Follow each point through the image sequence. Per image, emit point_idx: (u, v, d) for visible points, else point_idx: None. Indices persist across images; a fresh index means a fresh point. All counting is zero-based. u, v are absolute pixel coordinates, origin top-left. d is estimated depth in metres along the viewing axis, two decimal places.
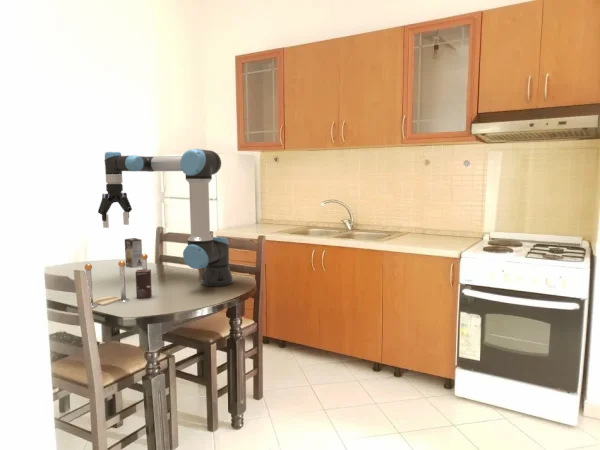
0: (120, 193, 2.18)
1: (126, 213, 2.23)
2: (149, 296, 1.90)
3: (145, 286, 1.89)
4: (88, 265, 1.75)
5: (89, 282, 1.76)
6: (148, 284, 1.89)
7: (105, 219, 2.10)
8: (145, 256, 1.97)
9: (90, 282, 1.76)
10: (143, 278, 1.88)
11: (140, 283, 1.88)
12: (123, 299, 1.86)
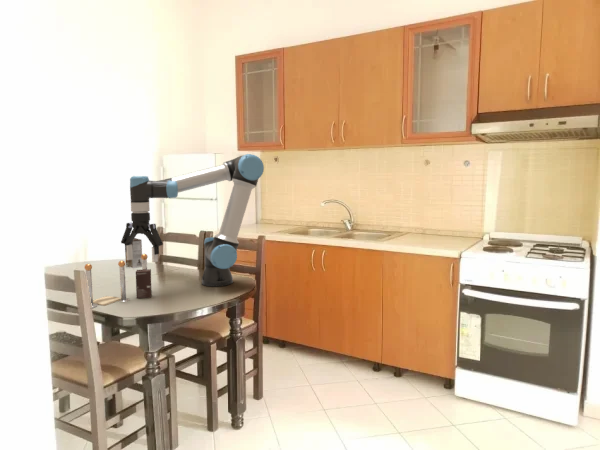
0: (144, 224, 1.86)
1: None
2: (149, 296, 1.90)
3: (145, 286, 1.89)
4: (88, 265, 1.75)
5: (89, 282, 1.76)
6: (148, 284, 1.89)
7: (126, 250, 1.91)
8: (145, 256, 1.97)
9: (90, 282, 1.76)
10: (143, 278, 1.88)
11: (140, 283, 1.88)
12: (123, 299, 1.86)
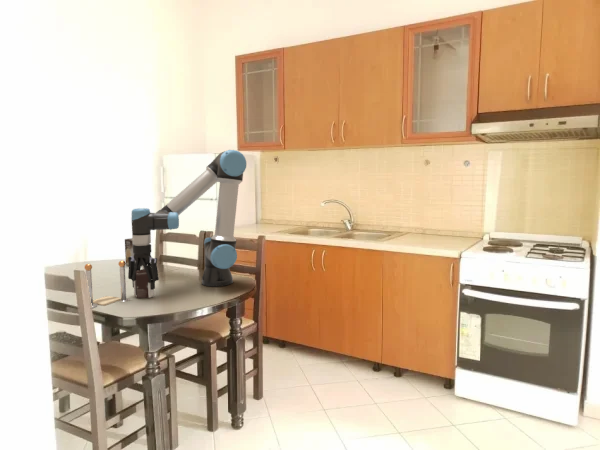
0: (146, 256, 1.87)
1: None
2: None
3: (145, 286, 1.89)
4: (88, 265, 1.75)
5: (89, 282, 1.76)
6: None
7: (133, 286, 1.92)
8: None
9: (90, 282, 1.76)
10: (143, 278, 1.88)
11: (140, 282, 1.88)
12: (123, 299, 1.86)
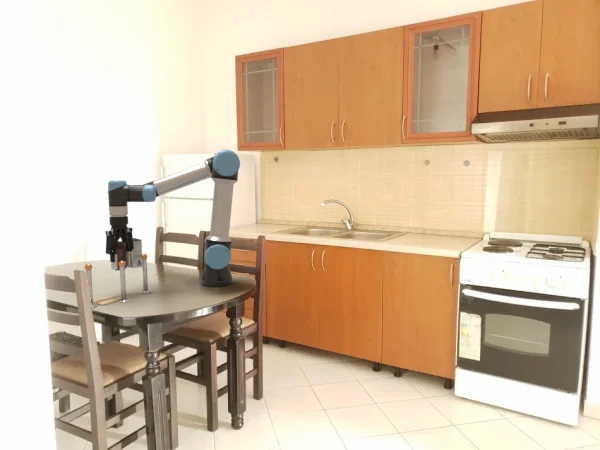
0: (126, 226, 1.93)
1: (127, 253, 1.95)
2: (126, 266, 1.96)
3: (126, 256, 1.94)
4: (88, 265, 1.75)
5: (89, 282, 1.76)
6: (126, 254, 1.95)
7: (114, 260, 1.88)
8: (145, 256, 1.97)
9: (90, 282, 1.76)
10: (125, 248, 1.93)
11: (125, 253, 1.92)
12: (123, 299, 1.86)
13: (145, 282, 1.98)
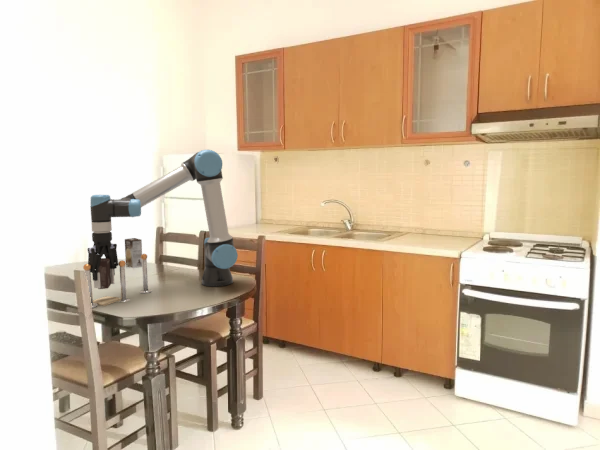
0: (109, 242, 1.85)
1: (111, 270, 1.87)
2: (110, 283, 1.87)
3: (109, 274, 1.85)
4: (87, 265, 1.74)
5: (88, 282, 1.75)
6: None
7: (96, 278, 1.79)
8: (145, 256, 1.97)
9: (89, 282, 1.76)
10: (109, 266, 1.84)
11: (108, 271, 1.83)
12: (123, 299, 1.86)
13: (145, 282, 1.98)
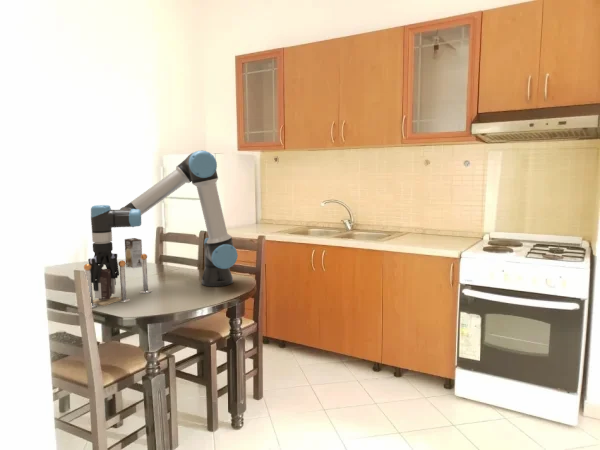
0: (110, 252, 1.85)
1: (112, 280, 1.87)
2: (111, 294, 1.88)
3: (110, 284, 1.86)
4: (87, 265, 1.74)
5: (89, 282, 1.75)
6: None
7: (97, 289, 1.80)
8: (145, 256, 1.97)
9: (90, 282, 1.76)
10: (109, 276, 1.85)
11: (109, 282, 1.83)
12: (123, 299, 1.86)
13: (145, 282, 1.98)
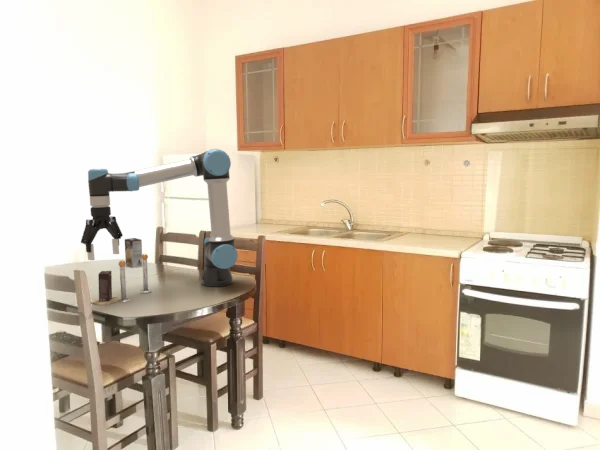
0: (108, 217, 1.83)
1: (116, 240, 1.88)
2: (111, 296, 1.88)
3: (111, 286, 1.86)
4: None
5: None
6: (111, 284, 1.87)
7: (90, 250, 1.75)
8: (145, 256, 1.97)
9: None
10: (110, 279, 1.85)
11: (110, 284, 1.84)
12: (123, 299, 1.86)
13: (145, 282, 1.98)
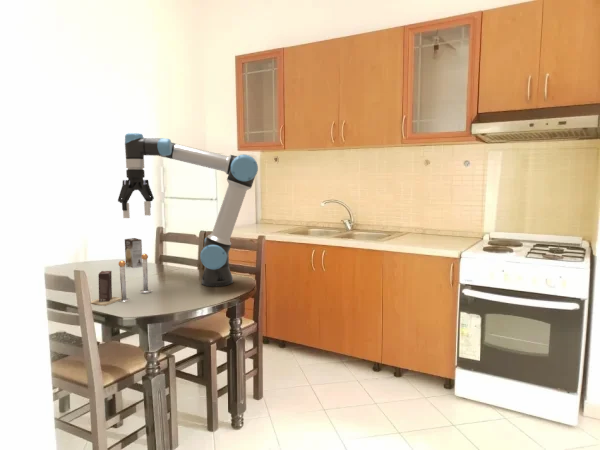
0: (141, 180, 1.96)
1: (148, 202, 2.01)
2: (111, 296, 1.88)
3: (111, 286, 1.86)
4: None
5: None
6: (111, 284, 1.87)
7: (126, 208, 1.88)
8: (145, 256, 1.97)
9: None
10: (110, 279, 1.85)
11: (110, 284, 1.84)
12: (123, 299, 1.86)
13: (145, 282, 1.98)
